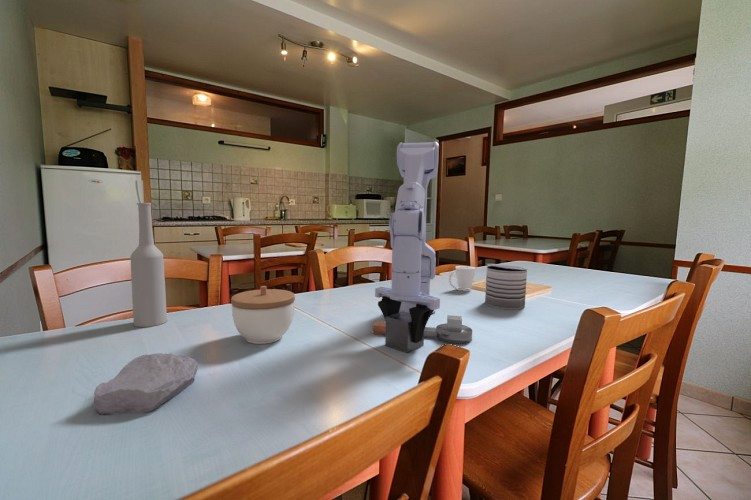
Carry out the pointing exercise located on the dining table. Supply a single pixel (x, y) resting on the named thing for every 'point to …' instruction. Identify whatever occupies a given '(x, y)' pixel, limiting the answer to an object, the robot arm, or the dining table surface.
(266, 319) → the lidded bowl
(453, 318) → the ratchet
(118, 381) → the stone block
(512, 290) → the can
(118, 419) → the dining table surface
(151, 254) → the bottle
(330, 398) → the dining table surface
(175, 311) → the dining table surface
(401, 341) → the dark grey cube
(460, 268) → the cup
